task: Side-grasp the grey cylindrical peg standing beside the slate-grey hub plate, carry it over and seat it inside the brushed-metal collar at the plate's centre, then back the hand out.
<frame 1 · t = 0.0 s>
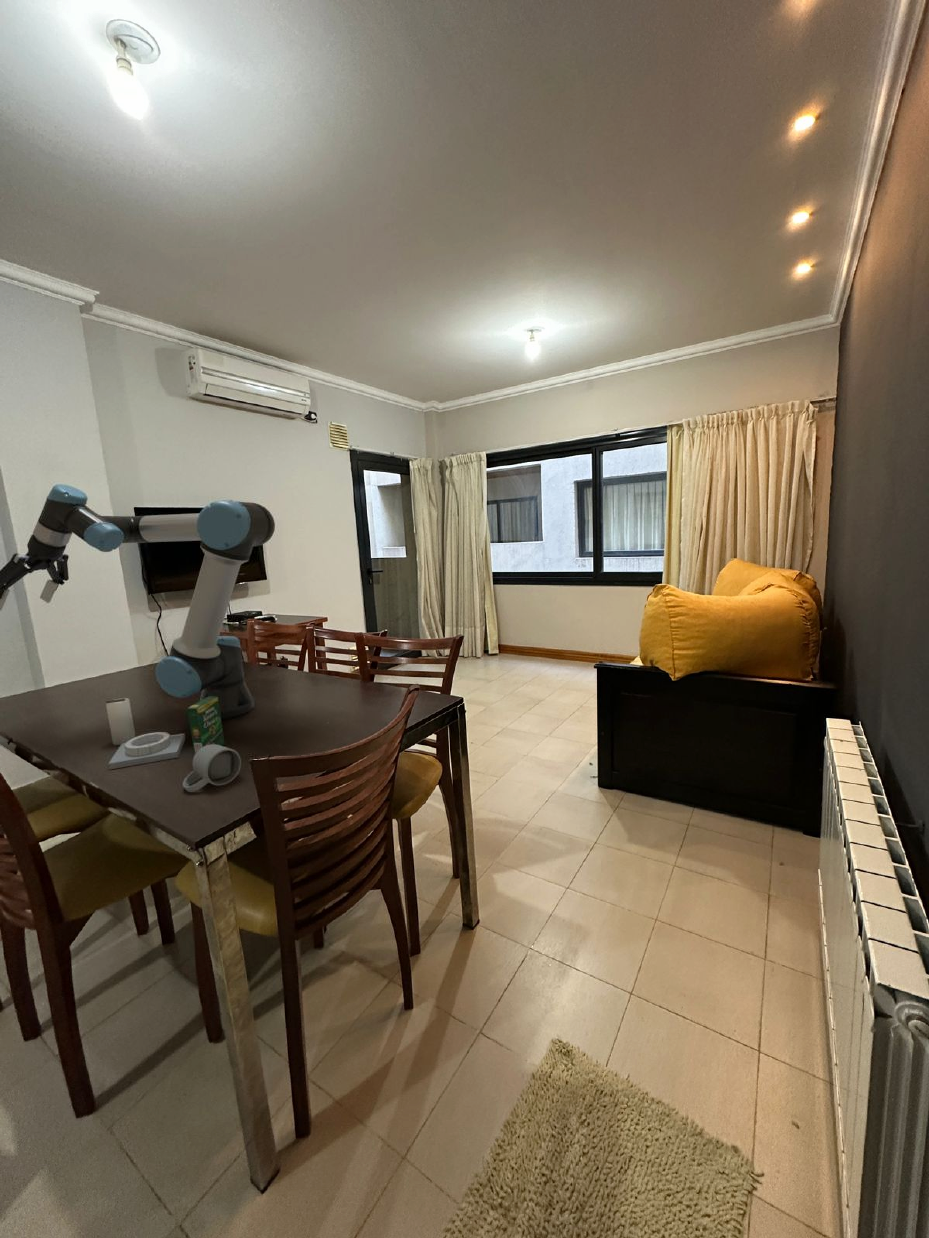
hand: (21, 603, 136), 36 cm above the table, tool tilted 35°, fingers open, 13 cm apart
ceramic mug: (212, 782, 107), on the table
hub: (149, 753, 122), on the table
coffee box: (210, 752, 122), on the table
grey cylindrical peg: (124, 740, 130), on the table
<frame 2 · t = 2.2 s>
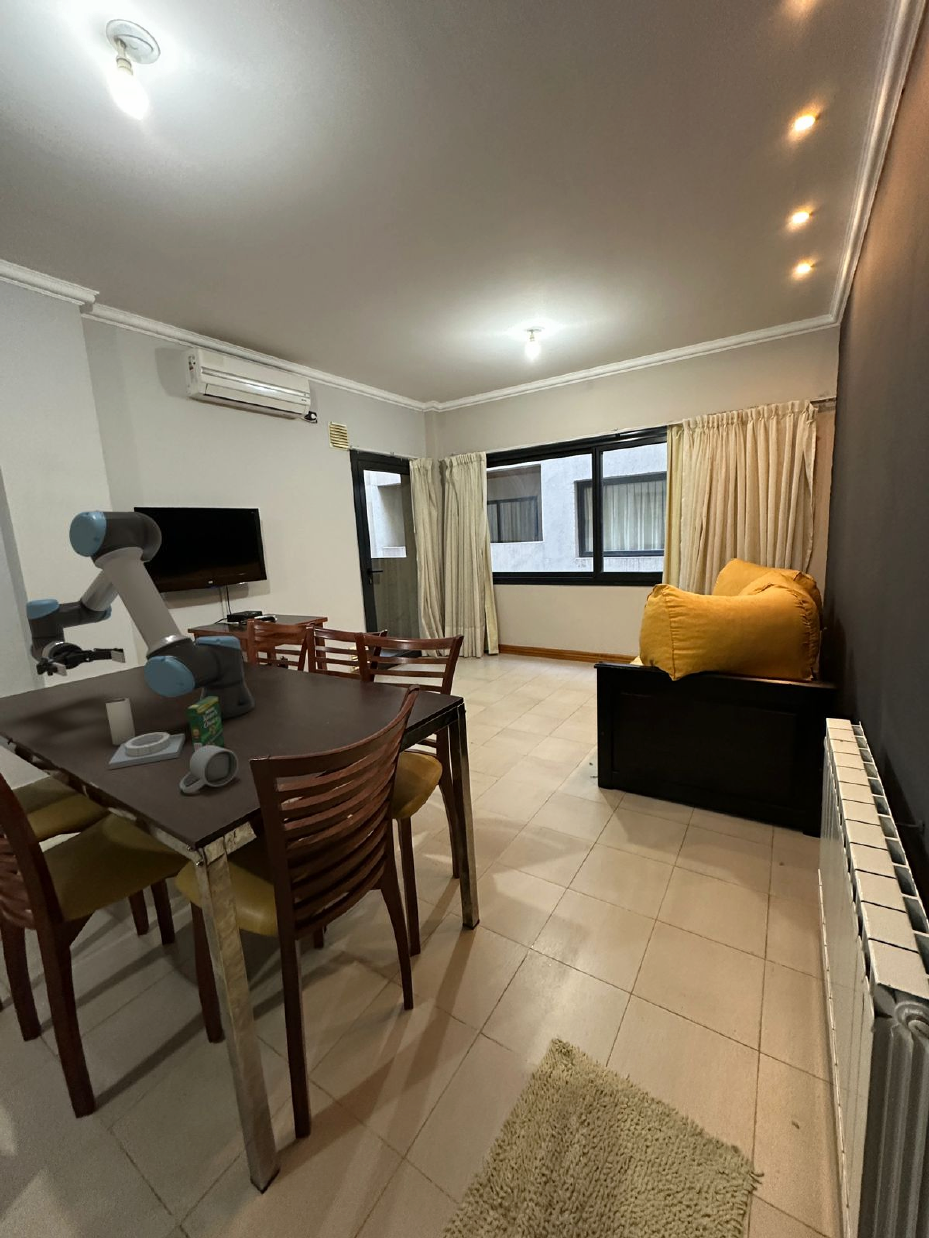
hand: (95, 664, 132), 20 cm above the table, tool horizontal, fingers open, 13 cm apart
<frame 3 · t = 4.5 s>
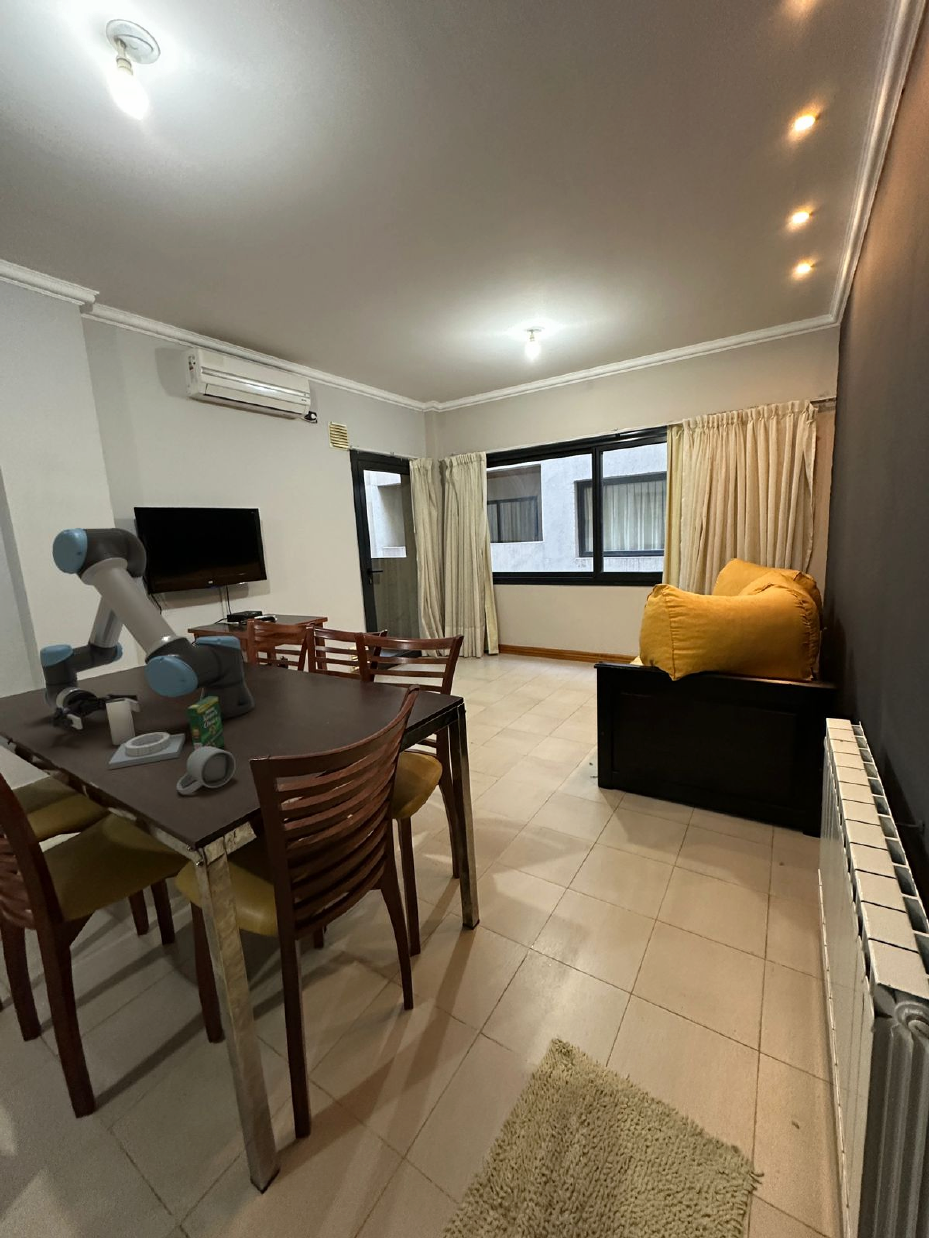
hand: (110, 715, 132), 6 cm above the table, tool horizontal, fingers open, 13 cm apart
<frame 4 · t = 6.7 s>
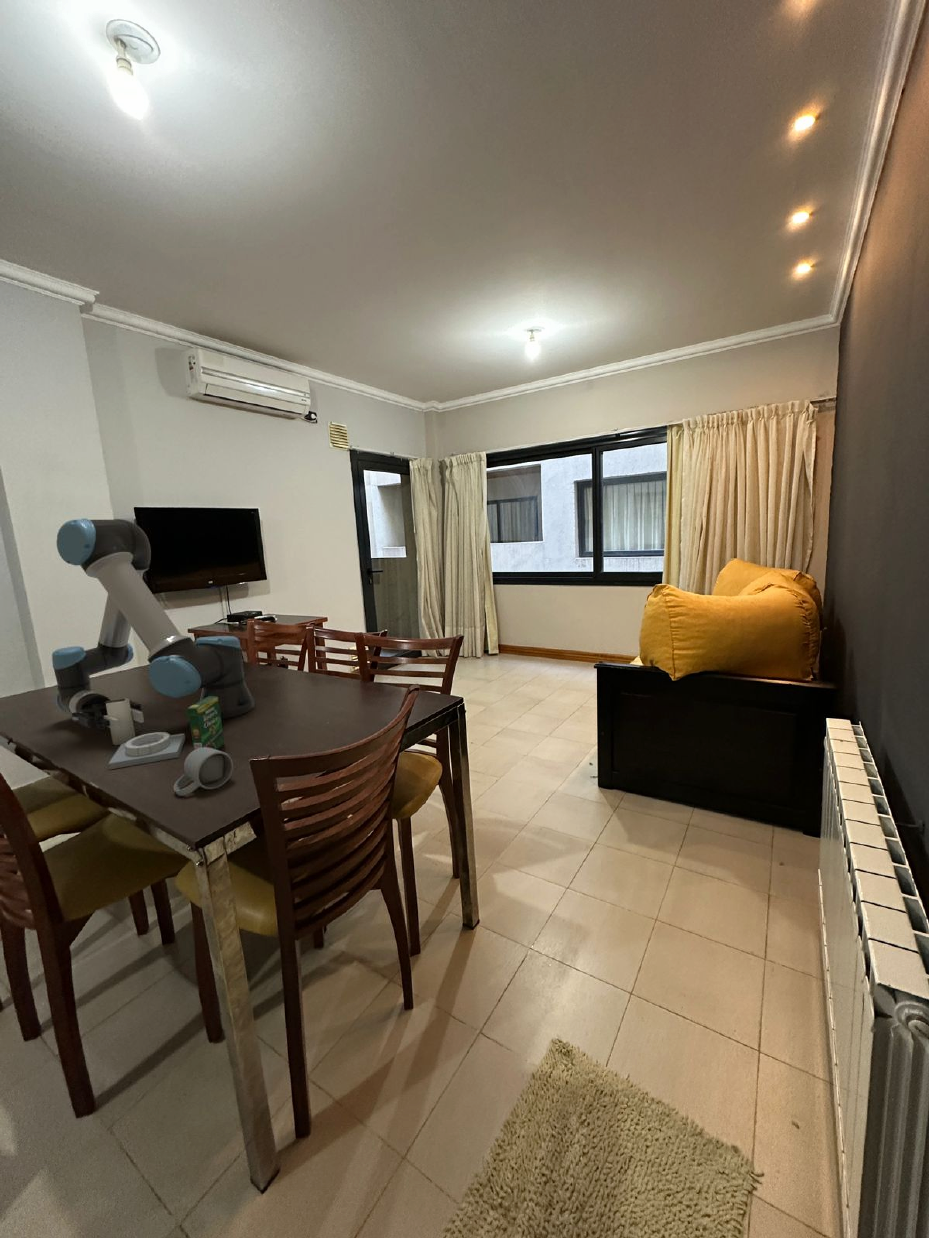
hand: (129, 721, 126), 7 cm above the table, tool horizontal, fingers closed on grey cylindrical peg, 5 cm apart
grey cylindrical peg: (124, 740, 130), on the table, touching gripper
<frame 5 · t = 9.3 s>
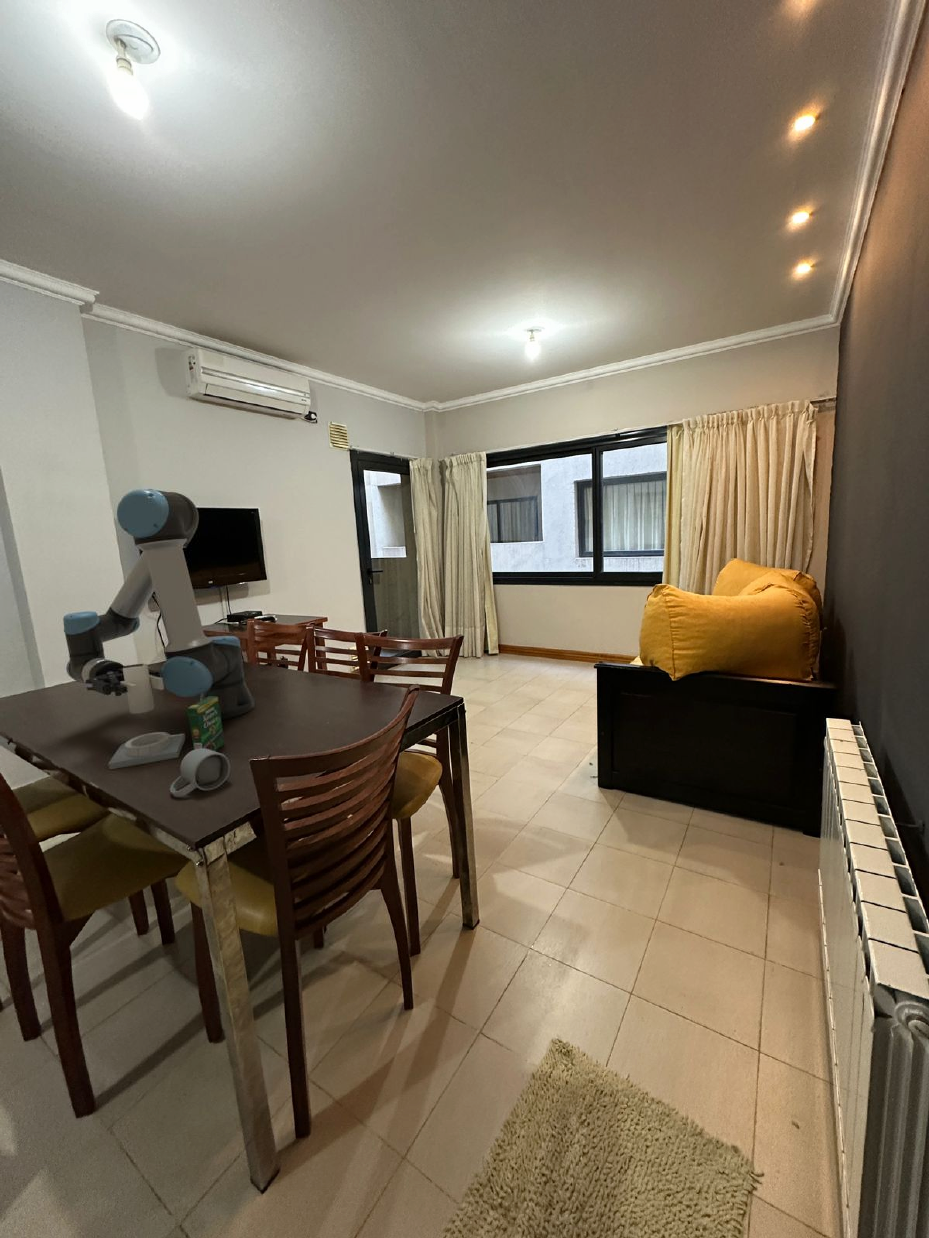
hand: (148, 687, 116), 18 cm above the table, tool horizontal, fingers closed on grey cylindrical peg, 5 cm apart
grey cylindrical peg: (142, 709, 120), point 11 cm above the table, touching gripper
when the fingers open (8 cm above the table, at t = 11.7 s): grey cylindrical peg stays where it is, resting on hub.
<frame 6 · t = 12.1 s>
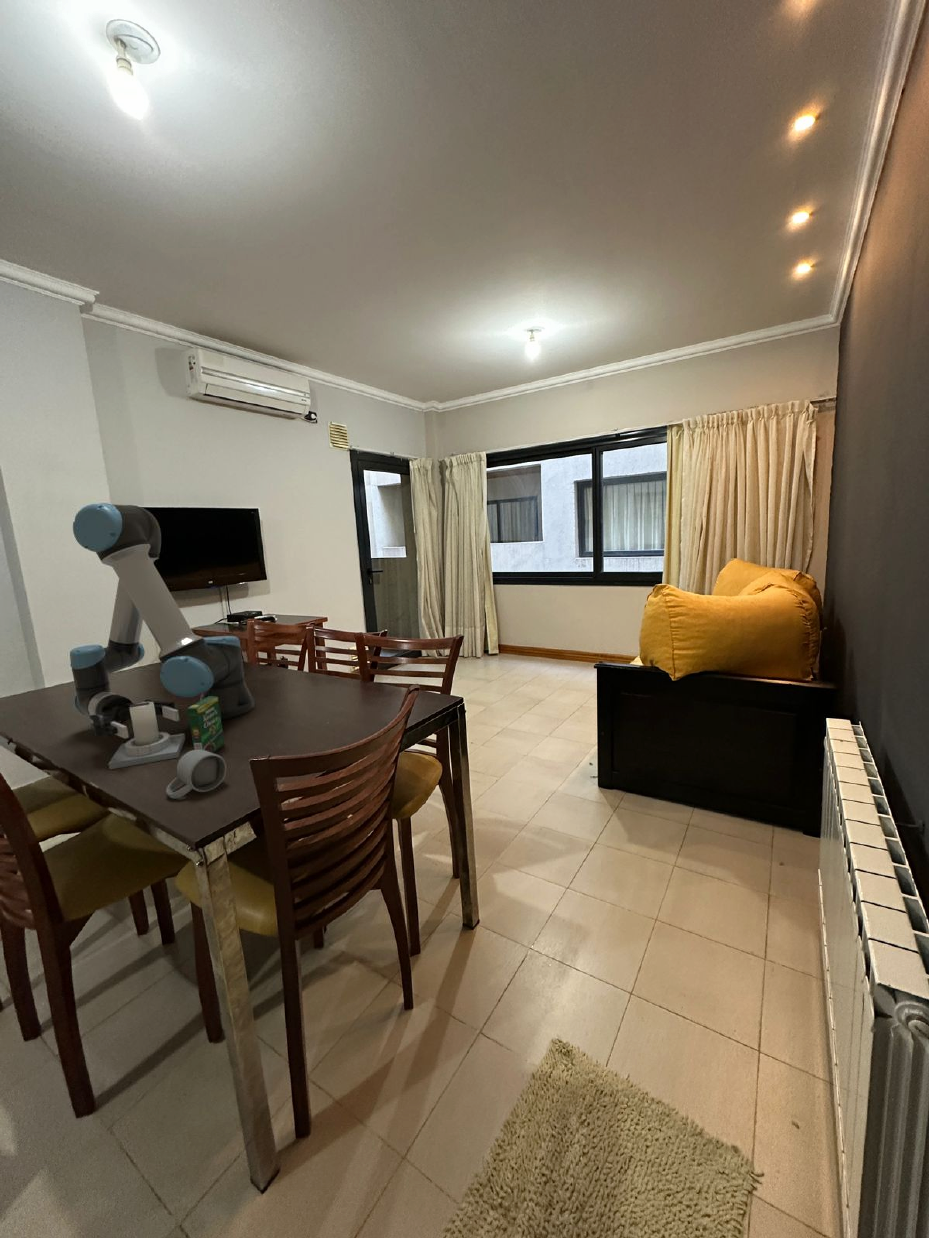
hand: (152, 723, 118), 8 cm above the table, tool horizontal, fingers open, 11 cm apart
grey cylindrical peg: (148, 747, 122), point 2 cm above the table, touching hub
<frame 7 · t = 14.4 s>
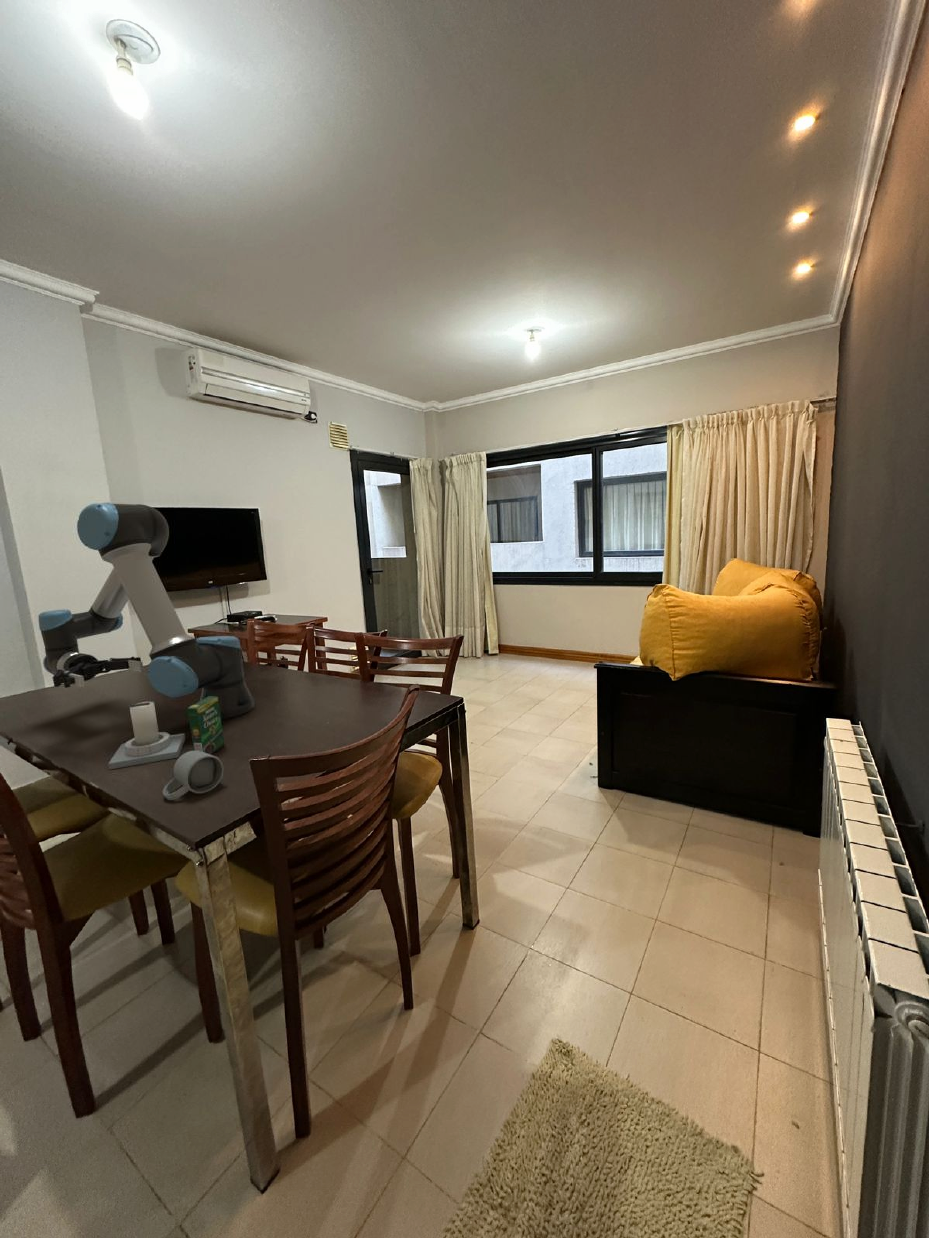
hand: (113, 673, 127), 18 cm above the table, tool horizontal, fingers open, 13 cm apart
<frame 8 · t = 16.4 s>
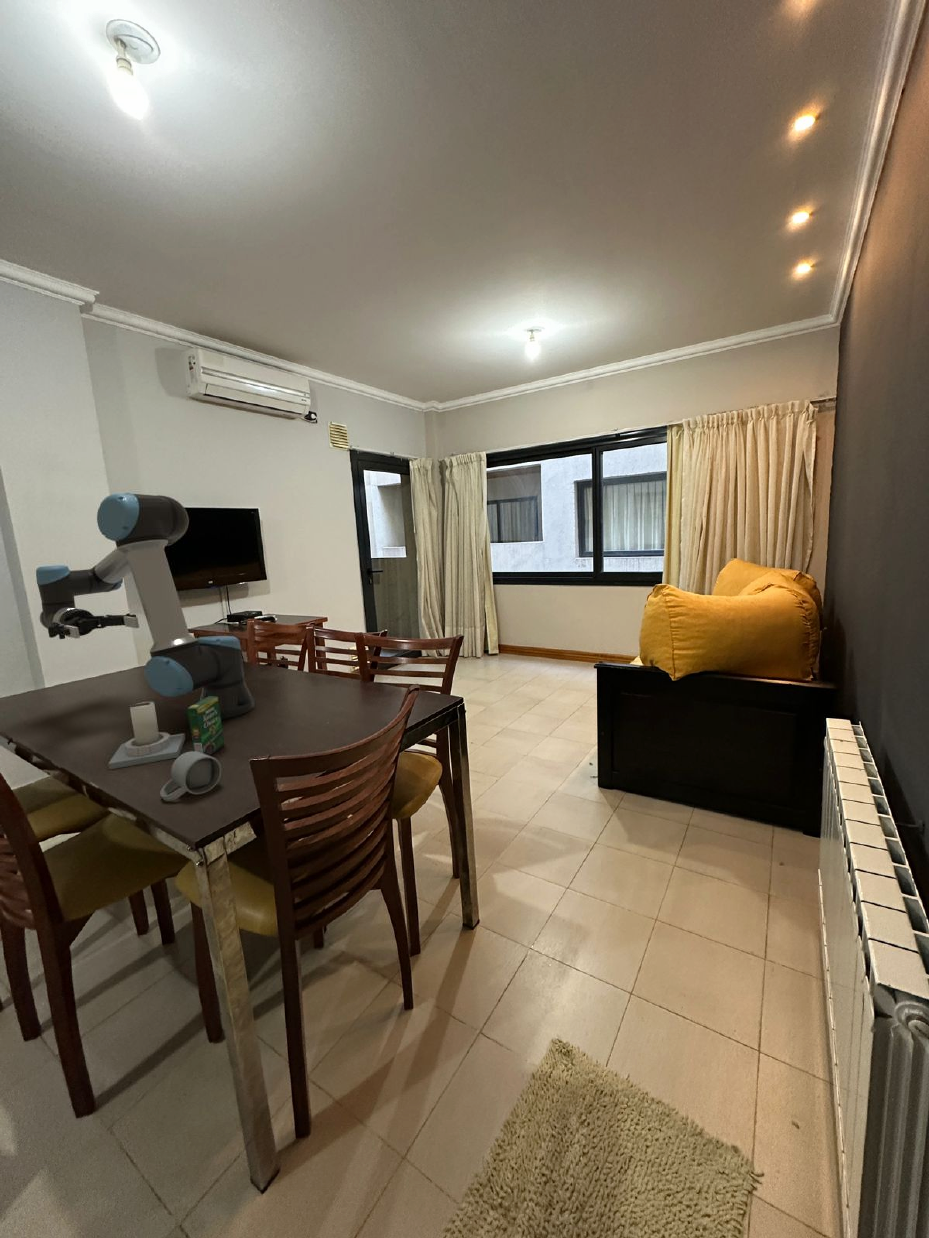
hand: (108, 627, 128), 30 cm above the table, tool horizontal, fingers open, 13 cm apart
at the end: grey cylindrical peg 0.0 cm off-centre on the hub, point 1.5 cm above the hub's base; grey cylindrical peg tilted 0°; the gripper is holding nothing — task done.
